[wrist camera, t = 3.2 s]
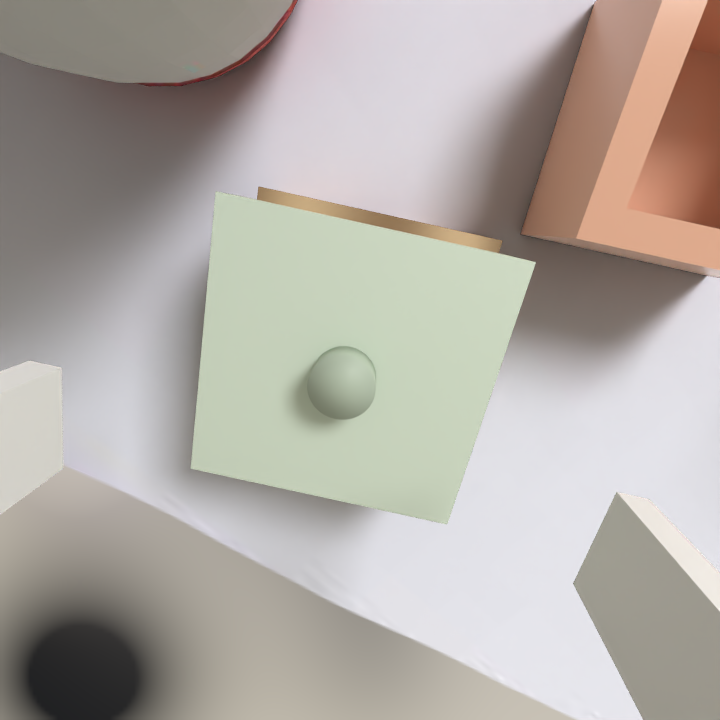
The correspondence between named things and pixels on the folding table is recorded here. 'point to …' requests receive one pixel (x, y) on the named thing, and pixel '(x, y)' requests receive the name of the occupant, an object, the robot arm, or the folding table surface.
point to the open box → (639, 138)
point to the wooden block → (379, 219)
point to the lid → (348, 356)
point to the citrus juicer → (140, 36)
